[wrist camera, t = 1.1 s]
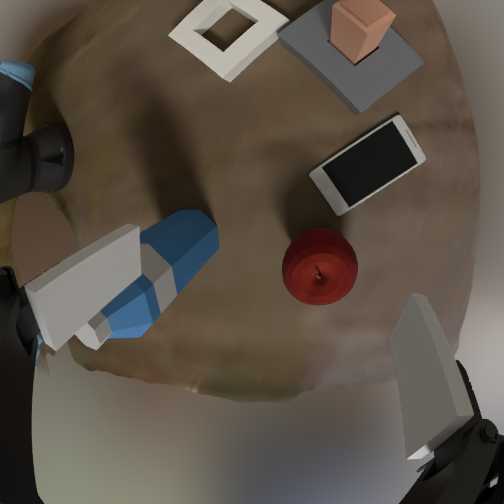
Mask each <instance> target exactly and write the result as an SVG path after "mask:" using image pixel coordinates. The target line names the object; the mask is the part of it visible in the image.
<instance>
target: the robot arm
mask: <svg viewBox="0 0 504 504" xmlns="http://www.w3.org/2000/svg"><path fill="white" fill-rule="evenodd" d="M34 77H35V68H34V67H33V66H32V65H30V64H27V63H22V62H17V61H10V60H0V204H2V203H4V202H7V201H9V200H11V199H14V198H16V197H19V196H21V195H23V194H26V193H29V192H46V193H53V192H56V191H59V190H61V189H63V188H64V187H65V186H66V185H67V183H68V181H69V179H70V177H71V173H72V169H73V159H74V155H73V145H72V141H71V137H70V135H69V133H68V131H67V129H66V128H65V127H64V126H63V125H62V124H59V123H52V124H47V125H44V126H42V127H41V128H40V129H39V130H36V131H34V132H32V133H30V134H28V135H27V136H23V131H24V125H25V119H26V113H27V108H28V104H29V99H30V95H31V92H32V90H33V88H32V86H33V81H34ZM141 275H142V274H141V258H140V230H139V226H135V225H131V224H126V225H124V226H123V227H121V228H119V229H117V230H115V231H113V232H111V233H110V234H108V235H106V236H104V237H102V238H101V239H99V240H97V241H95V242H94V243H92V244H90V245H88V246H87V247H85V248H83V249H82V250H80V251H78V252H77V253H75V254H73V255H72V256H70V257H68V258H67V259H65V260H63V261H62V262H59V263H57V264H56V265H54V266H53V267H51V268H50V269H48V270H46V271H45V272H44V273H42V274H40V275H39V276H37V277H36V278H34V279H33V280H31V281H30V282H28V283H27V284H25V285H24V286H22V287H21V288H19V287H18V284H17V281H16V277H15V274H14V270H13V268H12V267H10V266H3V267H0V504H44V503H43V501H42V500H41V498H40V497H39V495H38V492H37V488H36V482H35V474H34V465H33V453H32V423H31V421H32V417H31V416H32V394H33V393H32V392H33V381H34V370H35V363H36V356H37V349H38V338H37V335H38V334H39V333H40V332H41V334H42V337H43V339H44V341H45V343H46V344H47V345H49V346H50V347H51V348H53V349H54V350H55V351H57V350H58V349H59V348H60V347H61V346H62V345H63V344H64V343H65V342H66V341H67V340H69V339H70V338H71V337H72V336H73V335H74V334H75V333H76V332H77V331H78V330H79V329H80V328H81V327H82V326H84V325H85V324H86V323H87V322H88V321H89V320H90V319H91V318H92V317H93V316H95V315H96V314H97V313H98V312H99V311H100V310H101V309H102V308H103V307H105V306H106V305H107V304H108V303H109V302H110V301H111V300H113V299H114V298H115V297H116V296H117V295H118V294H119V293H121V292H122V291H123V290H124V289H125V288H126V287H128V286H129V285H130V284H131V283H132V282H133V281H135V280H136V279H137V278H138V277H139V276H141ZM389 342H390V346H391V351H392V356H393V361H394V366H395V372H396V377H397V382H398V389H399V395H400V402H401V409H402V417H403V425H404V435H405V449H406V459H420V458H424V457H425V456H427V455H428V454H430V453H431V452H432V451H434V456H435V457H434V458H433V459H432V460H430V461H429V462H427V463H426V464H424V465H423V466H421V467H420V468H419V469H418V470H417V472H420V471H421V470H423V469H424V468H425V469H424V471H423V472H422V474H421V475H420V477H419V478H418V479H417V481H416V482H415V484H414V485H413V486H412V487H411V489H410V491H409V492H408V493H407V494H406V495H405V497H404V498H403V499H402V500H401V502H400V503H399V504H504V436H503V435H499V434H498V430H497V428H496V426H495V425H494V424H493V423H492V422H491V421H490V420H488V419H482V416H481V413H480V409H479V407H478V403H477V400H476V397H475V394H474V392H473V390H472V386H471V383H470V382H469V377H468V375H467V372H466V370H465V368H464V367H463V366H462V364H461V363H460V362H459V360H455V358H454V355H453V353H452V350H451V348H450V346H449V343H448V341H447V339H446V337H445V334H444V332H443V330H442V328H441V326H440V323H439V321H438V319H437V317H436V315H435V313H434V311H433V309H432V307H431V305H430V303H429V301H428V299H427V297H426V295H421V294H417V293H413V292H412V294H411V296H410V298H409V300H408V302H407V305H406V307H405V309H404V311H403V313H402V315H401V317H400V319H399V321H398V322H397V324H396V326H395V328H394V330H393V332H392V334H391V336H390V337H389ZM497 477H498V482H497V484H496V485H494V486H492V487H490V482H491V481H493V480H494V479H496V478H497Z"/></svg>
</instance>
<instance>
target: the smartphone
mask: <svg viewBox="0 0 504 504" xmlns="http://www.w3.org/2000/svg"><path fill="white" fill-rule="evenodd" d="M425 159H426V157H425V155H424V153H423V151H422V150H421V148H420V146H419V144H418V143H417V141H416V139H415V138H414V136H413V134H412V133H411V131H410V129H409V128H408V126H407V125H406V123H405V121H404V120H403V118H402V117H401V116H400V115H397V116H394V117H393V118H391V119H390V120H388V121H387V122H385V123H383V124H382V125H380V126H379V127H377V128H376V129H374V130H373V131H371V132H370V133H368V134H366V135H365V136H363V137H362V138H360V139H359V140H357V141H356V142H354V143H353V144H351V145H350V146H348V147H347V148H345V149H344V150H342V151H341V152H339V153H338V154H336V155H335V156H333V157H332V158H330V159H329V160H327V161H326V162H324V163H323V164H321V165H320V166H319V167H317V168H316V169H314V170H313V171H311V172H310V174H309V176H310V177H311V179H312V180H313V182H314V183H315V184H316V186H317V187H318V189H319V190H320V191H321V193H322V194H323V196H324V197H325V199H326V200H327V202H328V203H329V204H330V206H331V207H332V209H333V210H334V212H335V213H336V215H337V216H340V215H342V214H344V213H345V212H347V211H348V210H350V209H352V208H353V207H355V206H356V205H358V204H359V203H361V202H362V201H364V200H366V199H367V198H369V197H370V196H372V195H373V194H375V193H376V192H378V191H380V190H381V189H383V188H384V187H386V186H387V185H389V184H390V183H392V182H393V181H395V180H396V179H398V178H399V177H401V176H403V175H404V174H406V173H407V172H409V171H410V170H412V169H413V168H415V167H416V166H418V165H419V164H421V163H422V162H424V161H425Z"/></svg>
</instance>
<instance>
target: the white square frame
mask: <svg viewBox="0 0 504 504" xmlns="http://www.w3.org/2000/svg"><path fill="white" fill-rule="evenodd" d="M231 8H233V9H235V10H237V11H238V12H240V13H241V14H243V15H244V16H246V17H247V18H249V19H250V20H252V21H253V22H255V23H256V24H254V25H253V26H252V27H251V28H250V29H249V30H247V31H246V32H245V33H244V34H243V35H242V36H241V37H239V38H238V39H237V40H236V41H235V42H234V43H233V44H232V45H231V46H230V47H229V48H227V49H226V50H225V51H224V52H222V51H221V50H220V49H218V48H217V47H216V46H214V45H213V44H212V43H210V42H209V41H208V40H206V39H205V38H203V37H202V35H203V34H204V33H205V32H206V31H207V30H208V29H209V28H210V27H211V26H212V25H213V24H214V23H215V22H216V21H218V20H219V19H220V18H221V17H222V16H223V15H224V14H225V13H226V12H228V11H229V10H230V9H231ZM289 25H290V21H289V19H287V18H286V17H285V16H283V15H282V14H280V13H279V12H277V11H276V10H274V9H273V8H271V7H270V6H268V5H267V4H265V3H264V2H262V1H261V0H203V1H202V2H201V3H200V4H199V5H198V6H197V7H196V8H195V9H194V10H193V11H192V12H190V13H189V14H188V15H187V16H186V17H185V18H184V19H183V20H182V21H181V22H180V23H179V24H178V25H177V27H176V28H175V29H174V30H173V31H172V32H171V33H170V34H169V35H168V36H170V37H171V38H172V39H174V40H175V41H176V42H178V43H179V44H181V45H182V46H183V47H184V48H186V49H187V50H188V51H190V52H191V53H192V54H194V55H195V56H196V57H197V58H199V59H200V60H201V61H202V62H204V63H205V64H206V65H207V66H209V67H210V68H211V69H212V70H213V71H215V72H216V73H217V74H218V75H219V76H221V77H222V78H223V79H225V80H227V81H228V82H231V81H232V80H233V79H234V78H235V77H236V76H237V75H238V74H239V73H240V72H241V71H243V70H244V69H245V68H246V67H247V66H248V65H249V64H250V63H251V62H252V61H253V60H254V59H256V58H257V57H258V56H259V55H260V54H261V53H262V52H263V51H265V50H266V49H267V48H268V47H269V46H270V45H272V44H273V43H274V42H275V41H276V40H278V39H279V38H278V36H277V34H278V33H280V32H281V31H282V30H283V29H285V28H286V27H287V26H289Z"/></svg>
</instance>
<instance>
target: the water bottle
mask: <svg viewBox="0 0 504 504" xmlns="http://www.w3.org/2000/svg"><path fill="white" fill-rule="evenodd" d="M218 248H219V243H218V233H217V225H215V224H214V223H213V222H212V221H211V220H210V219H209V218H208V217H207V216H206V215H205V214H204V213H203V212H202V211H201V210H179V211H177V212H175V213H173V214H172V215H170V216H168V217H166V218H165V219H163V220H161V221H159V222H158V223H156V224H154V225H153V226H151V227H149V228H148V229H146V230H144V231H143V232H141V233H140V258H141V274H142V275H141V276H139V277H138V278H137V279H136V280H135V281H133V282H132V283H131V284H130V285H129V286H128V287H126V288H125V289H124V290H123V291H122V292H121V293H119V294H118V295H117V296H116V297H115V298H114V299H113V300H111V301H110V302H109V303H108V304H107V305H106V306H105V307H103V308H102V309H101V310H100V311H99V312H98V313H97V314H96V315H95V316H93V317H92V318H91V319H90V320H89V321H88V322H87V323H86V324H85V325H84V326H82V327H81V328H80V329H79V330H78V331H77V332H76V333H75V335H76V336H77V337H78V338H79V339H80V340H81V341H82V342H83V343H84V344H85V345H86V346H88V347H90V348H93V349H95V350H97V349H98V348H99V347H100V346H101V345H102V344H103V343H104V342H105V341H106V339H107V338H132V337H141V336H142V335H143V334H144V332H145V331H146V330H147V329H148V328H149V327H150V326H151V325H152V324H153V323H154V322H155V320H156V319H157V318H158V317H159V316H160V314H161V313H162V312H163V311H164V310H165V309H166V307H167V306H168V305H169V304H170V303H171V302H172V300H173V299H174V298H175V297H176V296H177V295H178V294H179V292H180V291H181V290H182V289H183V288H184V287H185V286H186V284H187V283H188V282H189V281H190V280H191V279H192V278H193V276H194V275H195V274H196V273H197V272H198V271H199V270H200V268H201V267H202V266H203V265H204V264H205V263H206V262H207V261H208V259H209V258H210V257H211V256H212V255H213V254H214V253H215V252H216V250H217V249H218Z"/></svg>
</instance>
